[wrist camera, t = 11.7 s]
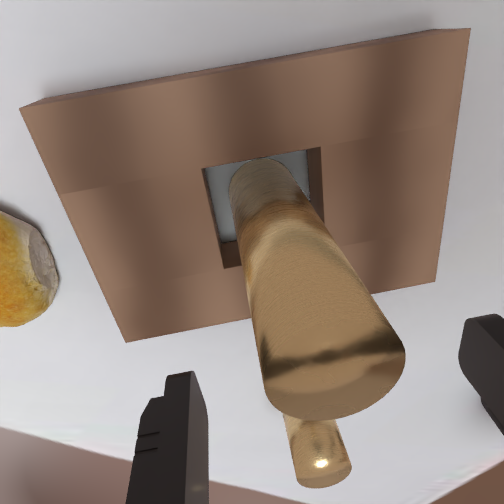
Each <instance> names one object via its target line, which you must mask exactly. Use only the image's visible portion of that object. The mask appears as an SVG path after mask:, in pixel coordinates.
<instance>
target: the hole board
mask: <svg viewBox="0 0 504 504" xmlns="http://www.w3.org/2000/svg"><path fill="white" fill-rule="evenodd" d="M470 30H471V28H463V29H433V30H427V31H422V32H416V33H410V34H405V35H399V36H393V37H388V38H382V39H376V40H371V41H365V42H360V43H354V44H348V45H343V46H337V47H331V48H326V49H320V50H314V51H309V52H303V53H297V54H292V55H286V56H280V57H275V58H269V59H263V60H258V61H252V62H247V63H241V64H235V65H230V66H224V67H218V68H213V69H207V70H201V71H196V72H190V73H184V74H179V75H173V76H167V77H162V78H156V79H151V80H145V81H139V82H134V83H128V84H122V85H117V86H111V87H105V88H100V89H94V90H88V91H83V92H77V93H71V94H66V95H60V96H55V97H49V98H44V99H41V100H39V101H36V102H34V103H31V104H29V105H26V106H24V107H21V108H19V110H20V112H21V115H22V117H23V119H24V121H25V123H26V126H27V128H28V130H29V132H30V134H31V137H32V139H33V141H34V143H35V145H36V148H37V150H38V152H39V154H40V156H41V158H42V161H43V163H44V165H45V167H46V169H47V172H48V174H49V176H50V178H51V180H52V183H53V185H54V187H55V189H56V191H57V194H58V196H59V198H60V200H61V202H62V204H63V207H64V209H65V211H66V213H67V215H68V218H69V220H70V222H71V224H72V226H73V229H74V231H75V233H76V235H77V237H78V240H79V242H80V244H81V246H82V248H83V250H84V253H85V255H86V257H87V259H88V261H89V264H90V266H91V268H92V270H93V272H94V275H95V277H96V279H97V281H98V283H99V286H100V288H101V290H102V292H103V294H104V296H105V299H106V301H107V303H108V305H109V307H110V310H111V312H112V314H113V316H114V318H115V321H116V323H117V325H118V327H119V329H120V332H121V334H122V336H123V338H124V340H125V342H126V343H127V342H132V341H137V340H142V339H147V338H152V337H157V336H162V335H167V334H172V333H178V332H183V331H188V330H193V329H198V328H203V327H208V326H213V325H218V324H223V323H228V322H233V321H238V320H243V319H248V318H251V313H250V307H249V302H248V296H247V291H246V285H245V280H244V274H243V269H242V264H241V258H240V253H239V247H238V242H237V241H233V242H228V243H223V244H221V240H220V236H219V232H218V227H217V223H216V218H215V214H214V209H213V205H212V200H211V196H210V191H209V187H208V182H207V178H206V173H205V169H204V168H207V167H213V166H218V165H224V164H229V163H234V162H240V161H245V160H251V159H256V158H261V157H267V156H272V155H278V154H283V153H288V152H294V151H299V150H305V149H307V159H308V173H309V187H310V202H311V205H312V207H313V208H314V210H315V211H316V213H317V214H318V216H319V217H320V219H321V220H322V222H323V223H324V225H325V226H326V228H327V229H328V231H329V232H330V234H331V235H332V237H333V238H334V240H335V242H336V243H337V245H338V246H339V248H340V249H341V251H342V252H343V254H344V255H345V257H346V258H347V260H348V261H349V263H350V264H351V266H352V267H353V269H354V270H355V272H356V273H357V275H358V276H359V278H360V279H361V281H362V282H363V284H364V285H365V287H366V288H367V290H368V291H369V293H370V294H375V293H380V292H385V291H390V290H395V289H400V288H405V287H411V286H416V285H421V284H426V283H431V282H435V279H436V272H437V265H438V257H439V250H440V243H441V236H442V229H443V222H444V215H445V208H446V201H447V193H448V186H449V179H450V172H451V165H452V158H453V151H454V144H455V137H456V129H457V122H458V115H459V108H460V101H461V94H462V87H463V80H464V73H465V66H466V58H467V51H468V44H469V37H470Z"/></svg>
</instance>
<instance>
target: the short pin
mask: <svg viewBox="0 0 504 504" xmlns="http://www.w3.org/2000/svg"><path fill="white" fill-rule="evenodd" d="M283 418H284V423H285V427H286V432H287V436H288V441H289V445H290V450H291V455H292V459H293V464H294V468H295V473H296V477H297V481H298V483H299V484H301V485H302V486H304V487H308V488H324V487H329V486H332V485H334V484H337V483H339V482H341V481H342V480H344V479H345V478H346V477H347V476H348V475H349V474H350V472H351V469H352V466H351V463H350V460H349V457H348V454H347V451H346V448H345V446H344V443H343V440H342V437H341V434H340V431H339V429H338V426H337V423H336V420H335V419H332V420H324V421H310V420H302V419H297V418H294V417H291V416H288V415H286V414H284V413H283Z"/></svg>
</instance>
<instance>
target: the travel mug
mask: <svg viewBox="0 0 504 504" xmlns="http://www.w3.org/2000/svg"><path fill="white" fill-rule="evenodd" d="M482 404H483V406H484V408H485V410H486V411H487V412H488V414H489V415H490V417H491V418H492V420H493V421H494V422H495V424H496V425H497V427H498V428H499V429H500V431H501V432H502V434H503V435H504V427H503V425H502V424H501V423H500V421H499V420H498V419H497V417H496V416H495V415H494V413H493V412H492V411H491V410H490V408H489V407H488V406H487V404H486V403H485V402H484V400H483V399H482Z"/></svg>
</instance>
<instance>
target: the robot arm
mask: <svg viewBox="0 0 504 504" xmlns="http://www.w3.org/2000/svg"><path fill="white" fill-rule="evenodd" d="M458 359H459V364H460V367H461V370H462V372H463V374H464V375H465V377H466V378H467V379H468V381H469V382H470V383H471V385H472V386H473V387H474V389H475V390H476V391H477V392H478V394H479V395H480V396H481V398H482V399H483V400H484V402H485V403H486V404H487V406H488V407H489V408H490V410H491V411H492V412H493V413H494V415H495V416H496V417H497V419H498V420H499V421H500V423H501V424H502V425H503V427H504V319H503V318H502V317H501V316H499V315H497V314H490V315H484V316H479V317H474V318H469V319H467V320H466V321H465V324H464V329H463V334H462V339H461V344H460V349H459V354H458ZM137 436H138V439H137V441H136V447H135V456H134V458H133V464H132V470H131V476H130V482H129V487H128V493H127V499H126V504H209V492H208V491H209V490H208V489H209V485H208V484H209V474H208V415H207V409H206V404H205V401H204V398H203V395H202V392H201V390H200V387H199V384H198V381H197V378H196V375H195V373H194V371H188V372H183V373H178V374H173V375H168V376H167V378H166V382H165V391H164V396H162V397H156V398H151V399H150V401H149V403H148V405H147V406H146V408H145V410H144V412H143V413H142V415H141V418H140V424H139V429H138V435H137Z"/></svg>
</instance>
